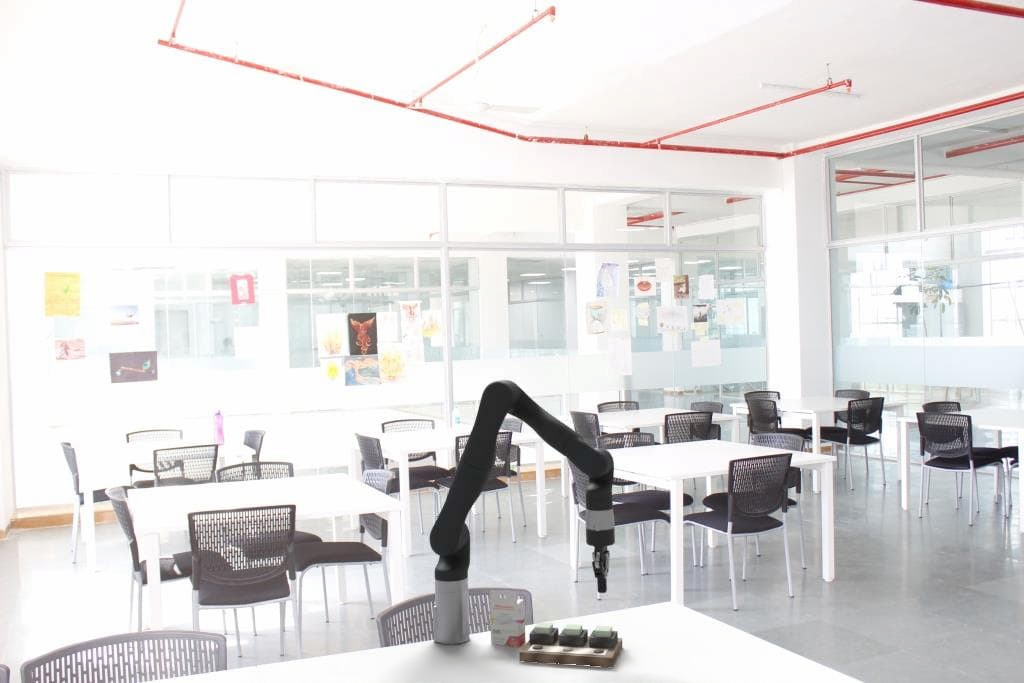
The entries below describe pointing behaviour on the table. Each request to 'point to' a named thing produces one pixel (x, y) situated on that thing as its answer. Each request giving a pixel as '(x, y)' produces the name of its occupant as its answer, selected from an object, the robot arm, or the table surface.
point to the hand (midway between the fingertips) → (602, 592)
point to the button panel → (572, 648)
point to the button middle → (573, 630)
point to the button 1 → (544, 628)
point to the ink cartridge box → (507, 619)
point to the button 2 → (603, 631)
